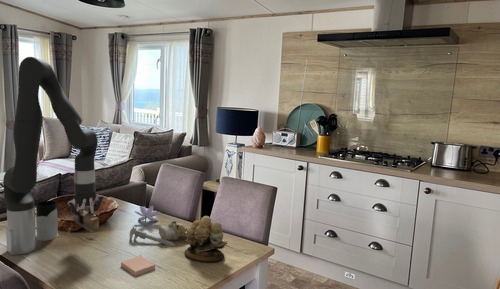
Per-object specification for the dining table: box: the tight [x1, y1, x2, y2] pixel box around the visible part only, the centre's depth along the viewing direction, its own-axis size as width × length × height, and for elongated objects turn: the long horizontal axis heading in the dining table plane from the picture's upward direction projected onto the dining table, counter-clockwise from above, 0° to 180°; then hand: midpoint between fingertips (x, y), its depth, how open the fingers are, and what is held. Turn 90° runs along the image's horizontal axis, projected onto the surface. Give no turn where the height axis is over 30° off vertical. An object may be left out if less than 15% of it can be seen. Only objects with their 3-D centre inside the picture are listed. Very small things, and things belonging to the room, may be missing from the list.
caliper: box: [129, 226, 176, 247], centre depth 160 cm, size 21×1×6 cm, turn 80°
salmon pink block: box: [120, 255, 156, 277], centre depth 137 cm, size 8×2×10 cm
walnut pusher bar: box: [72, 208, 100, 233], centre depth 148 cm, size 3×16×5 cm, turn 48°
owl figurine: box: [183, 215, 228, 264], centre depth 149 cm, size 18×12×17 cm, turn 72°
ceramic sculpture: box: [158, 220, 188, 241], centre depth 164 cm, size 11×9×15 cm
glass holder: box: [35, 200, 60, 242], centre depth 160 cm, size 9×14×15 cm, turn 89°
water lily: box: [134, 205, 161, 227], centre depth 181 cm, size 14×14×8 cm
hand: (85, 222), depth 148 cm, fingers closed on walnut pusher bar, 3 cm apart
